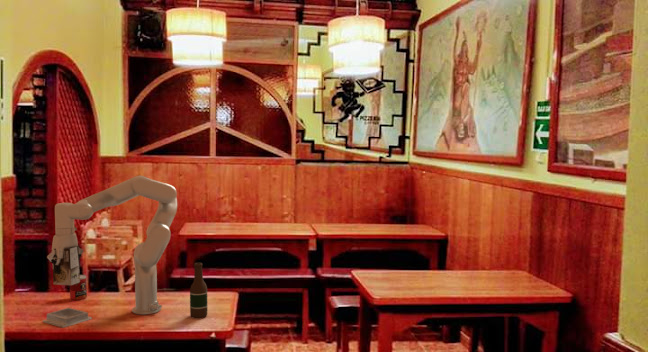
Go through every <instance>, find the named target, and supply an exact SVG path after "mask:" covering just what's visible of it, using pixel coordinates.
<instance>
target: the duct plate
mask: <svg viewBox="0 0 648 352" xmlns="http://www.w3.org/2000/svg"><path fill="white" fill-rule="evenodd" d="M92 319H93V317H92V316H89V312H87V311H84V310H80V309H76V308H71V307H66V308H62V309H59V310H56V311H52V312H48V313H46V319H43V320H42V323H45V324H47V325H52V326H55V327H59V328H62V329H63V328H66V327H67V328H68V327H71V326H74V325H77V324H80V323H83V322H86V321H89V320H92Z"/></svg>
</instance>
